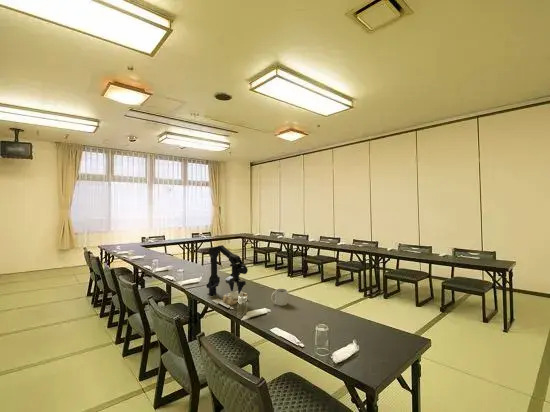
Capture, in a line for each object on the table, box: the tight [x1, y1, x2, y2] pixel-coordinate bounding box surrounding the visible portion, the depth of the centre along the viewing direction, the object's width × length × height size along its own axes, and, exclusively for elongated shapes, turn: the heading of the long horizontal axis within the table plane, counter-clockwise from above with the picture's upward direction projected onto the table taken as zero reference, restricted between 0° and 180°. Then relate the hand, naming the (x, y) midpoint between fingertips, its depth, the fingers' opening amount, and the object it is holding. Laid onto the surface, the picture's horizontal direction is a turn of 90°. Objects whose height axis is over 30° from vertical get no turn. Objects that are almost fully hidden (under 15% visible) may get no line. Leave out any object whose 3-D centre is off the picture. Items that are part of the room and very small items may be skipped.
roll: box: [227, 290, 244, 300], centre depth 213 cm, size 10×6×6 cm, turn 135°
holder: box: [222, 291, 248, 306], centre depth 213 cm, size 11×16×5 cm
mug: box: [270, 288, 288, 307], centre depth 207 cm, size 11×10×10 cm
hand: (235, 292), depth 213 cm, fingers open, 9 cm apart
